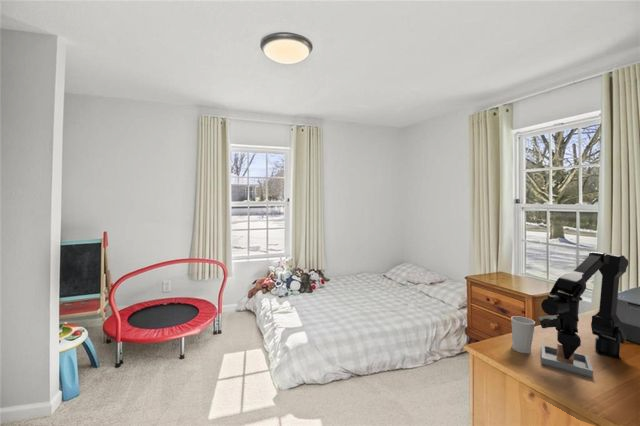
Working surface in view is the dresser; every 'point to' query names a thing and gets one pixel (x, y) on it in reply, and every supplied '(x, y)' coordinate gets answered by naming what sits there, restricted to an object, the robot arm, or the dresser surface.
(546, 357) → the tray
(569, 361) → the block
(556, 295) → the robot arm
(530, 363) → the dresser surface
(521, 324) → the cup
